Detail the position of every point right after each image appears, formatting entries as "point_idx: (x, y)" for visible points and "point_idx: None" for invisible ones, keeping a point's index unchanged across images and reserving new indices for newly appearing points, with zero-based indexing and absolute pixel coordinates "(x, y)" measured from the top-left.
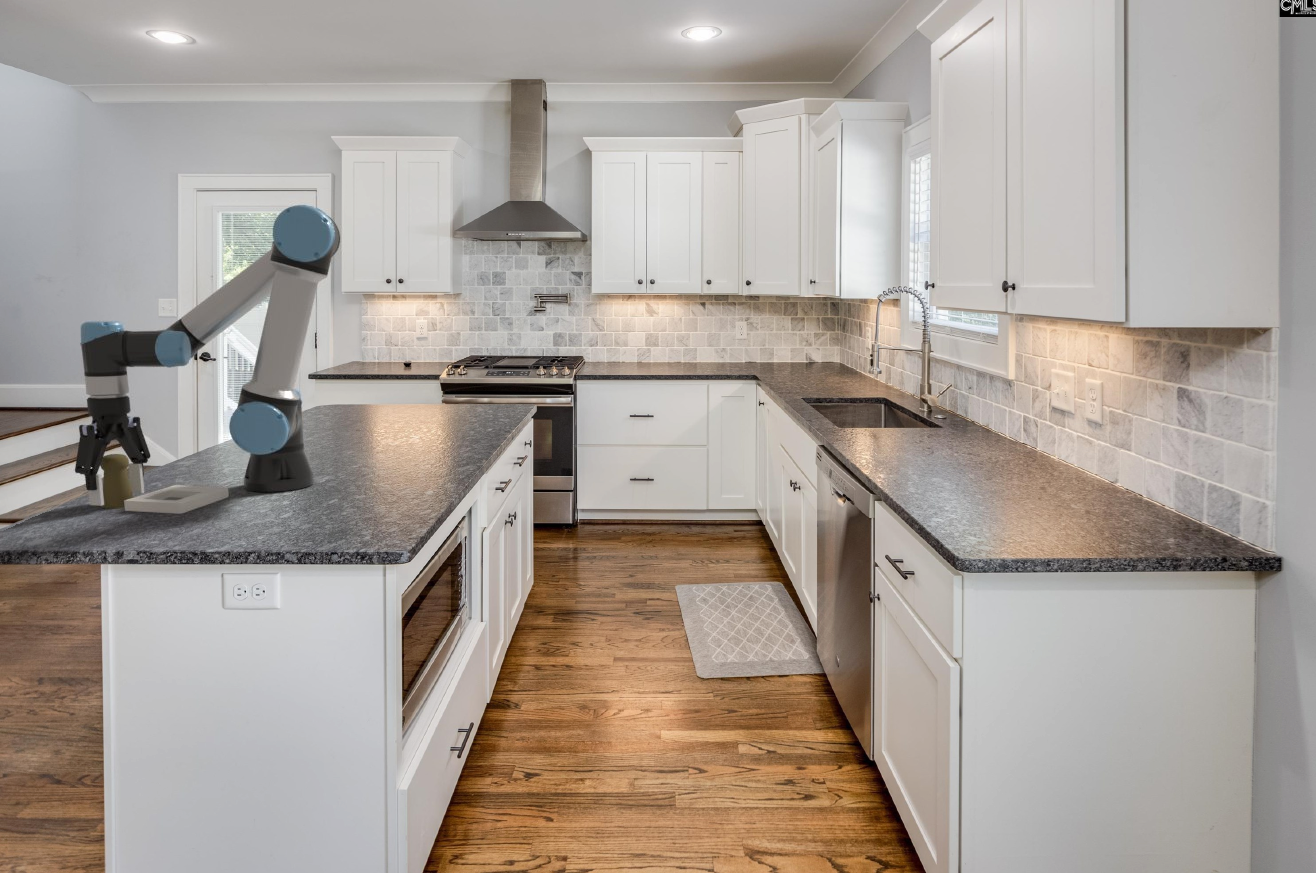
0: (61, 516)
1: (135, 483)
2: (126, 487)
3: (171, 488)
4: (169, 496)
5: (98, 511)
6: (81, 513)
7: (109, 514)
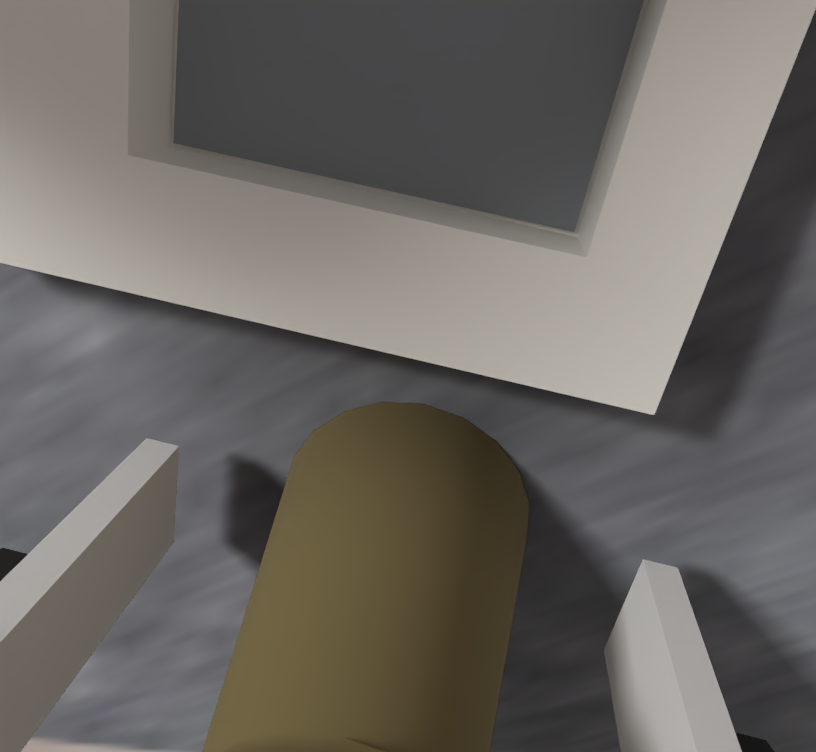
0: (757, 726)
1: (127, 556)
2: (411, 536)
3: (35, 185)
4: (170, 151)
5: (622, 564)
6: None
7: (763, 436)
